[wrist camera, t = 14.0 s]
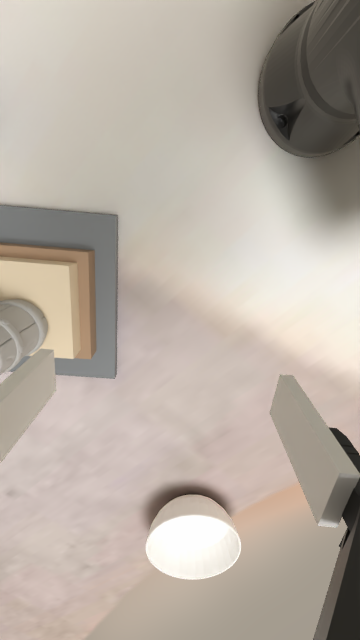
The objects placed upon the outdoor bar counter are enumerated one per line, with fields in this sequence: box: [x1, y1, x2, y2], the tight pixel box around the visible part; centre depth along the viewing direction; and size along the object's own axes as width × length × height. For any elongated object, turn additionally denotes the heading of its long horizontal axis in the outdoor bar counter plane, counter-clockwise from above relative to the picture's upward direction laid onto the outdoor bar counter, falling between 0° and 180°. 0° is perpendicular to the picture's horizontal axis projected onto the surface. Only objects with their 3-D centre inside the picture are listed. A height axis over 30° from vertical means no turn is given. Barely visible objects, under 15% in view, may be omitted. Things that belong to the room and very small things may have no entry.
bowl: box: [146, 495, 241, 579], centre depth 56 cm, size 18×18×7 cm
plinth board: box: [0, 205, 118, 379], centre depth 40 cm, size 26×22×8 cm
